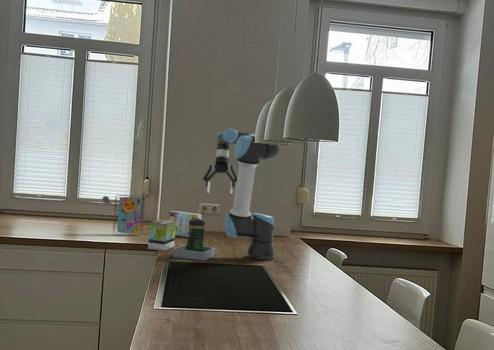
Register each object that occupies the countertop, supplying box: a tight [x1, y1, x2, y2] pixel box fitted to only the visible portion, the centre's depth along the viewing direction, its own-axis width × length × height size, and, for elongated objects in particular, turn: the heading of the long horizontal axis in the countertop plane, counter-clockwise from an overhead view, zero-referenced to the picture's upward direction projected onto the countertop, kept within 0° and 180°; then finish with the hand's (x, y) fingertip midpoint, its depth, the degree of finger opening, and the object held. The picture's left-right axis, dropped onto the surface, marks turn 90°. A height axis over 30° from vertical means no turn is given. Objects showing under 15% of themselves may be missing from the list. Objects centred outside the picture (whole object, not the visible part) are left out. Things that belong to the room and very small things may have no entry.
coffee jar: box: [186, 218, 206, 252], centre depth 265 cm, size 10×8×19 cm
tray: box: [172, 243, 217, 262], centre depth 266 cm, size 17×17×4 cm
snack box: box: [168, 210, 202, 238], centre depth 329 cm, size 21×6×15 cm, turn 65°
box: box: [102, 194, 146, 237], centre depth 312 cm, size 25×6×24 cm, turn 113°
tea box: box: [147, 219, 176, 252], centre depth 281 cm, size 15×10×15 cm
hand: (219, 192), depth 297 cm, fingers open, 13 cm apart
